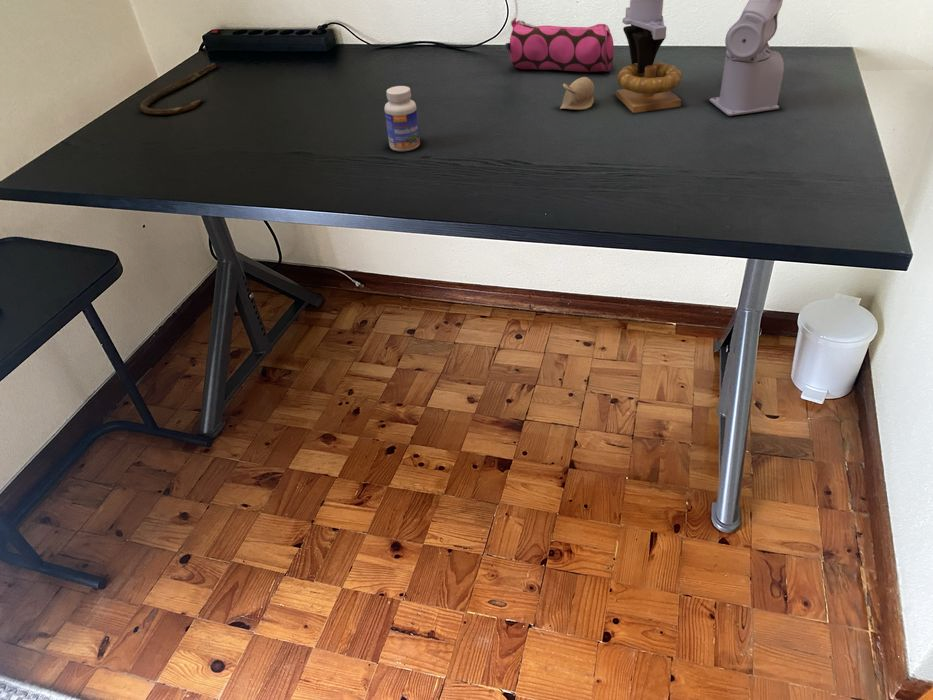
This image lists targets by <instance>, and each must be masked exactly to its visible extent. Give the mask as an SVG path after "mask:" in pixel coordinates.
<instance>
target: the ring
mask: <svg viewBox="0 0 933 700" xmlns="http://www.w3.org/2000/svg"><path fill="white" fill-rule="evenodd" d="M653 66H656V77H655V78H644V74H645V73H639V72H638V65H637V63H634V64H632V63H630V64H629V65H626V66H624V67H622V68H621V69H620V70H619V73H618V75H617V80H616V81H617V84H619V86H621V87H622V89H626V90H629V91H632V92H636V93H645V94H655V93H662V92H668V91H672V90H674V89H676V88H678V87H679V86H680V85H681V83H682V78H683V73H682V71H681V70H680V69H679V68H677V67H676V66H675V65H673V64H669V63H666V62H661V61H654V62H653Z"/></svg>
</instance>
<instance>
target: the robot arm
mask: <svg viewBox="0 0 933 700" xmlns="http://www.w3.org/2000/svg"><path fill="white" fill-rule="evenodd" d="M747 1H748V2H747V3H746V4H745V7H744V8H743V10H742V12H741V14H740V17H739V19H738V20H737V21H735V23H733V24H732V26H731V27H730V28H728V30H727V32H726V35H725V40H724V43H725V48H726V51H725V57H724V64H723V71H722V78H721V84H720V93H719V96H716V97H710V98H709V102H710V103H711V104H713V105H714V106H715V108H717V109H719V110H720V111H721V112H722V113H724V114H726V116H728V117H731V116H740V115H746V114H754V113H760V112H761V113H762V112H769V111H775V110H779V109H780V106H779V105H778V103H779V97H780V91H781V87H782V83H783V78H784V71H785V70H784V69H785V64H784V63H785V62H784V59H783V57H782V55H781V54H780V52H778V51H775V50H773V51H772V50H771V47H770V44H769V41H770V40H772V39H773V37H774V36H775V35H776V33H777V30H778V18H779V17H778V16H779V13H780V10H781V9H782V6H783V1H784V0H747ZM663 9H664V0H629V6H628V7H625V15H624V16H625V17H623V18H622V23H623V24H624V25H626V26H623V28H622V29H623V33H624V35H625V37H626V40H627V44H628V49H629V55H630V62H631V63H630V64H634V63H637V65H638V72H639V73H645V67H646V66H650V65H652V66H653V62H655V59H656V56H657V54H658V51H659V49H660V47H661V45H662V44H663V42H664V41H665V39H667V38H666V37H667V26H666V24H665V21H664V16H663Z"/></svg>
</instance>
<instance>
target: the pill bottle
mask: <svg viewBox="0 0 933 700" xmlns="http://www.w3.org/2000/svg"><path fill="white" fill-rule="evenodd" d="M385 93H386V99H387V102H386V103H385V105H384V109H383V110H384V116H385V117H384V118H385V124H386V132H387V138H388V146H389V148H390V149H391V150H392V151H395V152H409V151H413V150H416V149H417V148H418V147H420V145H421V138H420V137H421V136H420V128H419V119H418V117H419V116H418V109H417V103H416V102H415V101H414V100H413V99H411V98H412V93H411V88H410V87H409V86H407V85H395V86H391V87H389V88H387V90H386V92H385Z"/></svg>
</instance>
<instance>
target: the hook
mask: <svg viewBox="0 0 933 700" xmlns="http://www.w3.org/2000/svg"><path fill="white" fill-rule="evenodd" d="M216 68H217V65H216V63H215V62H211V63H209V64H207V66H206V67H203V68H201V69H200V70H198V71H196V72H193V73H192V74H190V75H188V76H187V77H184V78H183V79H180V80H178V81H176V82H174V83H173V84H170V85H168V86H165V87H163V88H161V89H160V90H158V91H156V92H154V93H152V94H151V95H148V96H147V97H146V98H145V99H144V100H142V101H141V102H140V105H139V109H140V111H141V112H142V113H145V114H147V115H152V116H171V115H178V114H183V113H186V112H189V111H191V110H193V109H195V108H196V107H198V106H200V104H201V103H202V102H203V100H204V99H203V98H201V99H197V100H194V101H192V102H189V103H188V104H186V105H182V106H179V107H173V108H172V107H171V108H170V107H169V108H152V107H151V108H150V106H151V105H152V104H153V103H155V102H156V101H158V100H160V99H161V98H163V97H165V96H168V95H169V94H171V93H174V92H175V91H177V90H180V89H181V88H183V87H186V86H187V85H189V84H191V83H193V82H194V81H196V80H197V79H199V78H201V77H203V76H204V75H206V74H207V73H209V72H211V71H213V70H215V69H216Z"/></svg>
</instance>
